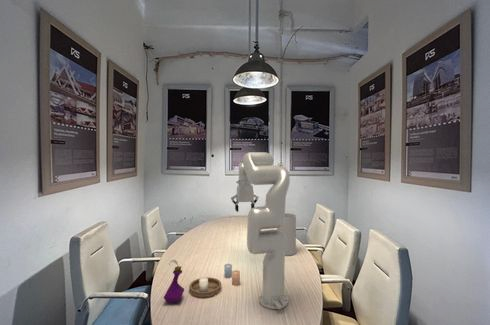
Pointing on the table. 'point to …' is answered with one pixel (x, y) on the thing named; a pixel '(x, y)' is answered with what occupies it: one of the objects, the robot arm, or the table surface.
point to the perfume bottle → (174, 287)
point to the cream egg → (203, 284)
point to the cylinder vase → (289, 233)
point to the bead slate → (227, 270)
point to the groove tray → (213, 288)
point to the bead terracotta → (235, 277)
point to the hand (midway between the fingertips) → (244, 210)
